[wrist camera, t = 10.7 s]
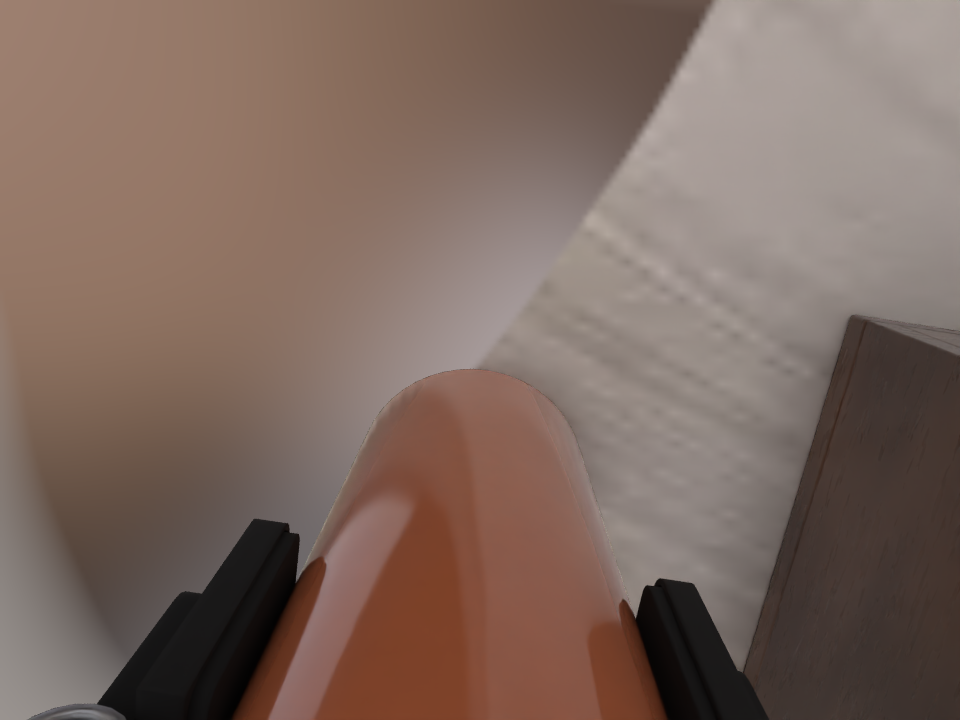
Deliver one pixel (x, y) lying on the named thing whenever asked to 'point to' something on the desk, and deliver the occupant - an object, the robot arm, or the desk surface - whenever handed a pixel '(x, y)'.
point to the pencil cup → (459, 576)
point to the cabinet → (872, 542)
